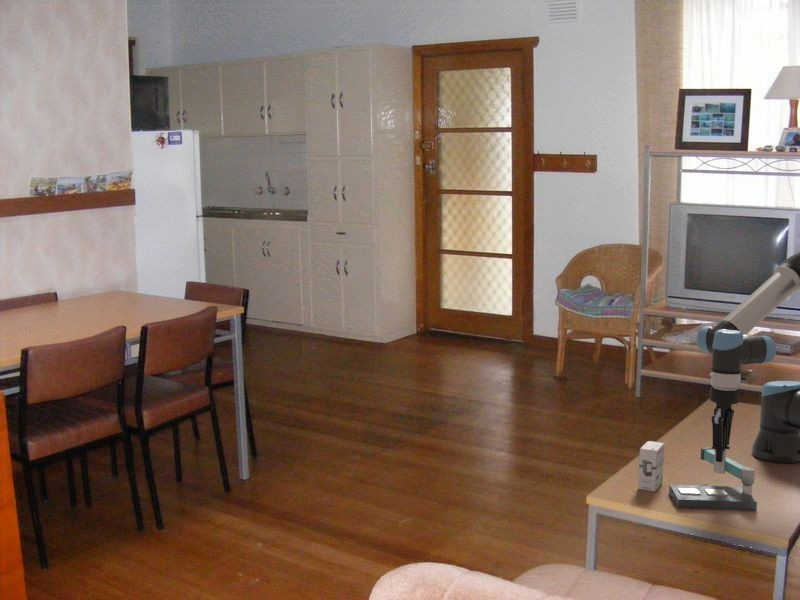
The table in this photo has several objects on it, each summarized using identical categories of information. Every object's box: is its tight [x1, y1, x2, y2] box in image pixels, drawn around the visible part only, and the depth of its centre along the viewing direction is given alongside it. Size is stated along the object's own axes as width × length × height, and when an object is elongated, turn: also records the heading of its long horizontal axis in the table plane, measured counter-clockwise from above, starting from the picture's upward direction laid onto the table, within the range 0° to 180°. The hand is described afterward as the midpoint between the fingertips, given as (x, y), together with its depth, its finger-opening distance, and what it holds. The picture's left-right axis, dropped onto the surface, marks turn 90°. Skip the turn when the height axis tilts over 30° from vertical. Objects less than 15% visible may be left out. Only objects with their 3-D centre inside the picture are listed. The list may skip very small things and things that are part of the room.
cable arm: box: [700, 446, 756, 485], centre depth 258 cm, size 21×3×4 cm, turn 16°
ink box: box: [637, 440, 665, 492], centre depth 262 cm, size 9×5×12 cm, turn 151°
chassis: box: [668, 483, 758, 512], centre depth 250 cm, size 20×11×5 cm, turn 86°
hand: (719, 472), depth 257 cm, fingers closed
